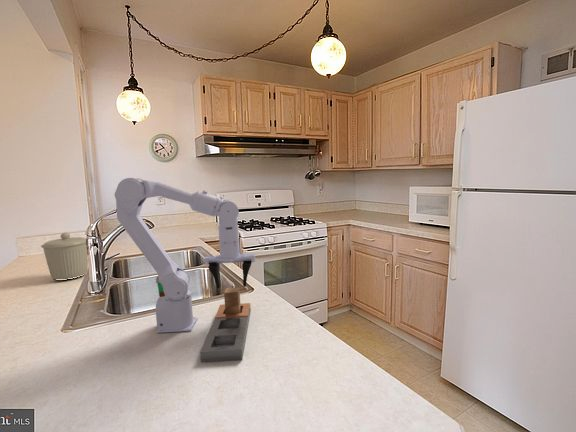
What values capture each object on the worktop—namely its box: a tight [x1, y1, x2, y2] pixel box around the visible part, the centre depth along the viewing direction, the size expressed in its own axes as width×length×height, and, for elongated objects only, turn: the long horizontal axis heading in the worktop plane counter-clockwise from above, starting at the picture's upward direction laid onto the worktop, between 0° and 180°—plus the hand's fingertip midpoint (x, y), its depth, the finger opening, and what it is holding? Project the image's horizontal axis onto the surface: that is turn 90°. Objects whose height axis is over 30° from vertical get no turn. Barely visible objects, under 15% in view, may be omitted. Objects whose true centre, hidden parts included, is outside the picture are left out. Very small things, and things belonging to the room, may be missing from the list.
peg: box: [223, 287, 241, 314], centre depth 92 cm, size 4×4×9 cm
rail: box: [199, 302, 252, 363], centre depth 84 cm, size 9×27×3 cm, turn 3°
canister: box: [40, 232, 89, 280], centre depth 142 cm, size 18×18×21 cm
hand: (231, 286), depth 92 cm, fingers open, 7 cm apart
